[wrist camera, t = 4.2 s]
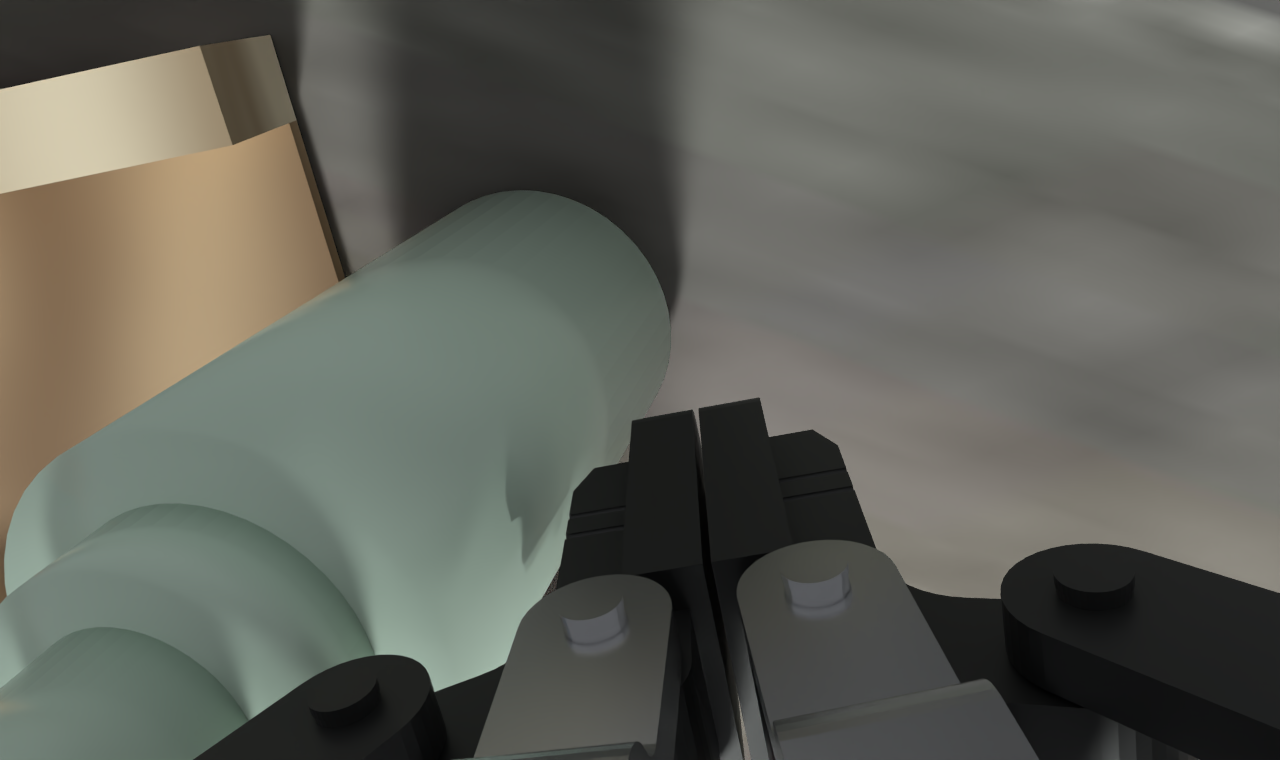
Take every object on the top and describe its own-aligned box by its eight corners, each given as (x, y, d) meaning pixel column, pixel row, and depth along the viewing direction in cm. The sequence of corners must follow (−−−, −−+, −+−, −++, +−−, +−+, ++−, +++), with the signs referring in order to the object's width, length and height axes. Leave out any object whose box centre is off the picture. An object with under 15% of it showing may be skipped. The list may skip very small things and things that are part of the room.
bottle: (638, 168, 18) (-94, 805, 5) (695, 440, 20) (257, 1431, 7) (373, 213, 20) (-712, 790, 7) (447, 461, 22) (-295, 1303, 8)
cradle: (270, 35, 19) (199, 45, 16) (448, 610, 23) (416, 698, 20) (-337, 167, 20) (-502, 199, 17) (-65, 692, 24) (-162, 786, 21)
